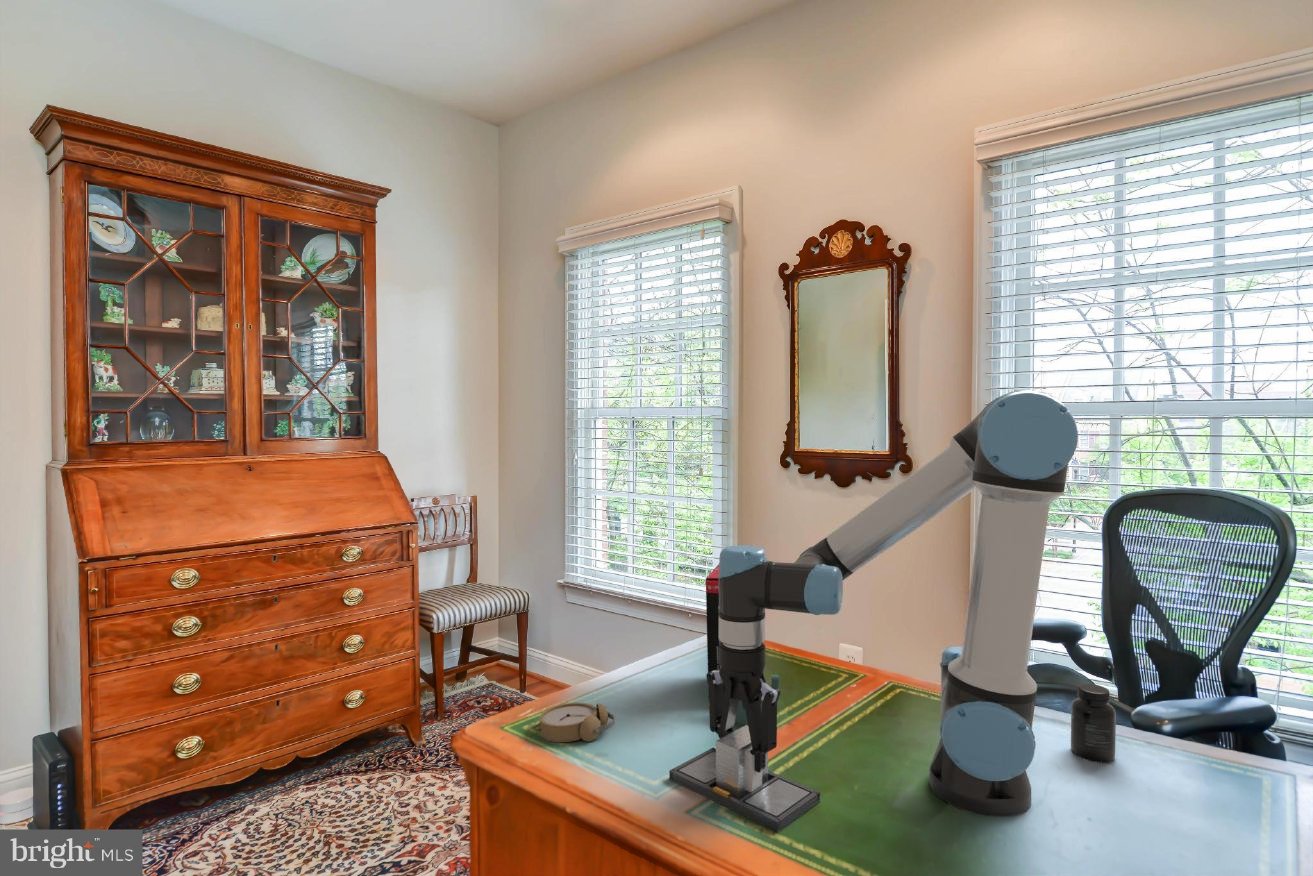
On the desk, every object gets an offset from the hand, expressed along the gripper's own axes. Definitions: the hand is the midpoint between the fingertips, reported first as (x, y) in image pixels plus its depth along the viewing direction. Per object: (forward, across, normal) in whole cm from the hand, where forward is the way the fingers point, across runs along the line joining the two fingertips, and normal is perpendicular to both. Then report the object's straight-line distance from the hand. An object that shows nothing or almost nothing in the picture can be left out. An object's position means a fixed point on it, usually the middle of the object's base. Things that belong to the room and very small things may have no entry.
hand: (742, 782), depth 117 cm
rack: (+1, 0, 0) cm, 1 cm away
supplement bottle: (+1, -38, -53) cm, 65 cm away
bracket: (+1, +16, -24) cm, 29 cm away
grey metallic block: (0, 0, 0) cm, 0 cm away
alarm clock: (+2, +37, +5) cm, 37 cm away
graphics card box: (+1, +28, -31) cm, 42 cm away
